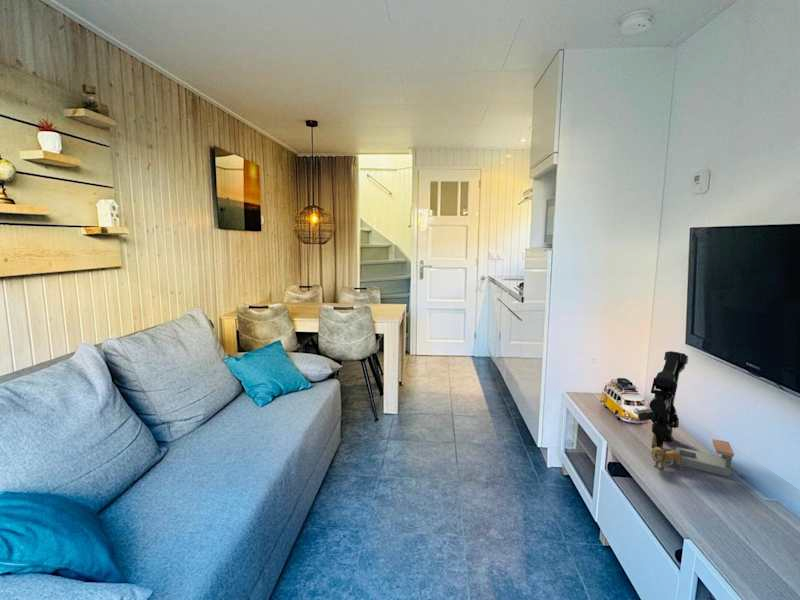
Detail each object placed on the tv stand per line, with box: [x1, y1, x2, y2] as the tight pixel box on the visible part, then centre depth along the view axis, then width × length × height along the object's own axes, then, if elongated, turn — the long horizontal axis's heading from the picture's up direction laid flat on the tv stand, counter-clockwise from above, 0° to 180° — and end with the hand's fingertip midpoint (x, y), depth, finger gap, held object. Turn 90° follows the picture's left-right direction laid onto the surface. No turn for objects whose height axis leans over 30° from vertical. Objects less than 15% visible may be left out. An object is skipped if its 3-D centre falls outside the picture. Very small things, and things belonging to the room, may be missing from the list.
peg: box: [651, 432, 665, 450], centre depth 178 cm, size 4×4×7 cm
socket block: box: [674, 446, 732, 478], centre depth 166 cm, size 10×17×3 cm, turn 61°
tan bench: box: [712, 438, 735, 469], centre depth 163 cm, size 11×5×9 cm, turn 151°
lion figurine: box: [650, 447, 684, 472], centre depth 162 cm, size 15×5×9 cm, turn 107°
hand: (657, 441), depth 178 cm, fingers open, 9 cm apart
